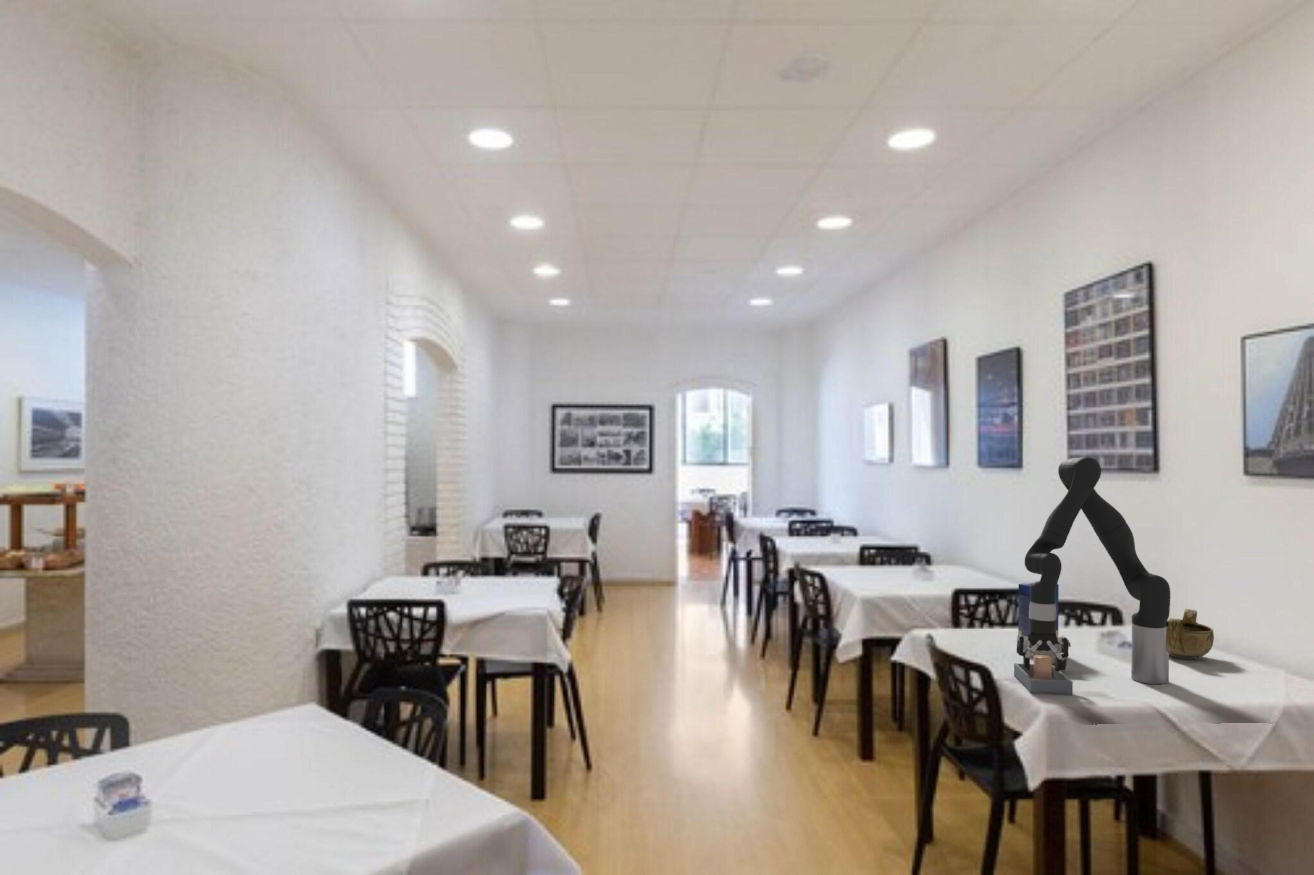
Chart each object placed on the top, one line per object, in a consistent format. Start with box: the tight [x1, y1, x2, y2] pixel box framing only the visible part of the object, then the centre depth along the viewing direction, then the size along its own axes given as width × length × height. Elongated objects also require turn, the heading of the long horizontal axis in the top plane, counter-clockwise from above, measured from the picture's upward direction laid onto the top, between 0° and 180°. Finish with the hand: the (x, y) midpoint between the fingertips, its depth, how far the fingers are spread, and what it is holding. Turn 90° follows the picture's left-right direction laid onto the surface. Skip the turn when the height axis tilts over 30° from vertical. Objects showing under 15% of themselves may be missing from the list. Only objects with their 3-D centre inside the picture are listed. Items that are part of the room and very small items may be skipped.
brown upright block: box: [1033, 655, 1052, 680], centre depth 248 cm, size 5×5×8 cm
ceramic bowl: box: [1166, 608, 1215, 660], centre depth 281 cm, size 22×17×15 cm
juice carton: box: [1017, 580, 1060, 657], centre depth 286 cm, size 12×8×24 cm, turn 121°
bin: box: [1013, 662, 1074, 696], centre depth 248 cm, size 12×18×4 cm, turn 171°
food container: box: [1033, 639, 1072, 672], centre depth 267 cm, size 12×6×10 cm, turn 84°
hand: (1042, 670), depth 248 cm, fingers open, 8 cm apart
